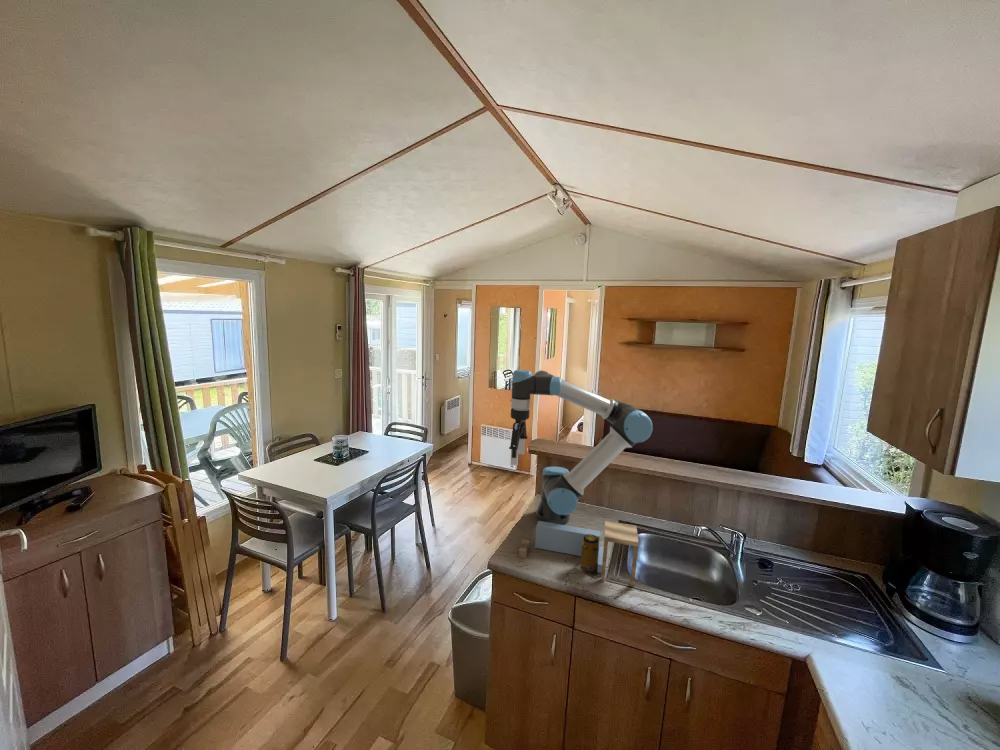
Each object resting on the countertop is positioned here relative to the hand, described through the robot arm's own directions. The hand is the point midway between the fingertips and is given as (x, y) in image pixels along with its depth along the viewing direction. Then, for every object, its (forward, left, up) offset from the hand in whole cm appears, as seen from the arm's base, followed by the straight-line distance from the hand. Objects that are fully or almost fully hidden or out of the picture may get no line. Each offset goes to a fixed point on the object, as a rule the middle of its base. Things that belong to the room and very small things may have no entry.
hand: (517, 459), depth 169 cm
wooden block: (+13, +7, -32) cm, 35 cm away
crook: (+12, +24, -31) cm, 41 cm away
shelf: (+16, +42, -32) cm, 55 cm away
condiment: (+16, +32, -32) cm, 48 cm away
